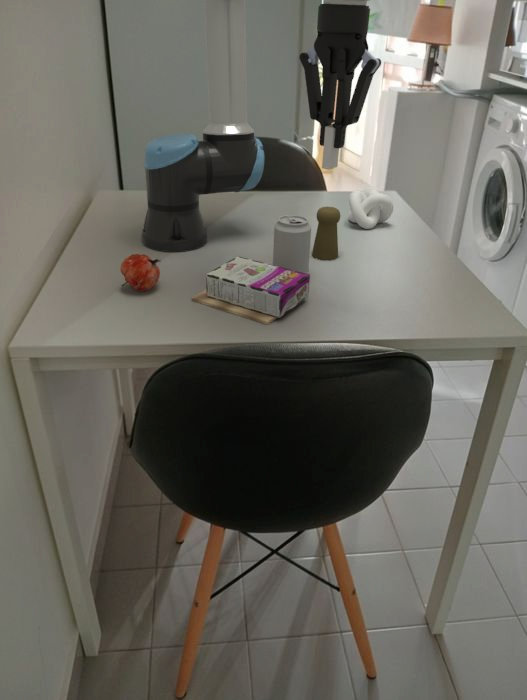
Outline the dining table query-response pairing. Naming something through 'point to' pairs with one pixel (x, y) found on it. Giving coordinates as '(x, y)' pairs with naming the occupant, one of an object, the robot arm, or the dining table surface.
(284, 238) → the can
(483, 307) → the dining table surface
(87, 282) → the dining table surface
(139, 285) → the pomegranate
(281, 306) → the candy bar box
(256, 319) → the wooden board
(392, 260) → the dining table surface
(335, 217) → the pepper shaker
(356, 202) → the white knot sculpture
